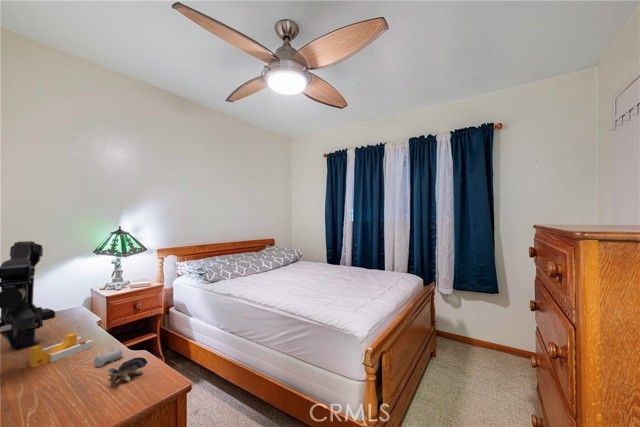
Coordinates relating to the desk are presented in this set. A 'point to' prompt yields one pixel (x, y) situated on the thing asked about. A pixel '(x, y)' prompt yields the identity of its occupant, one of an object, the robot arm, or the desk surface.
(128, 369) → the dark grey animal figurine
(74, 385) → the desk surface
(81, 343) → the guide channel
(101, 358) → the smooth white sculpture
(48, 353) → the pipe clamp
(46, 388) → the desk surface
